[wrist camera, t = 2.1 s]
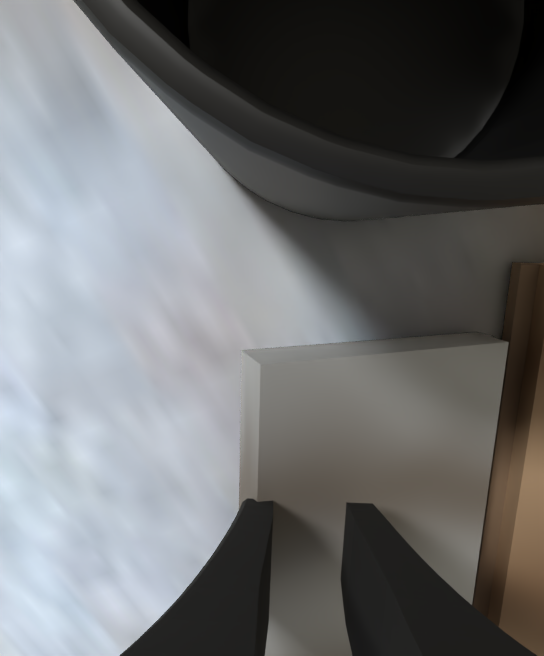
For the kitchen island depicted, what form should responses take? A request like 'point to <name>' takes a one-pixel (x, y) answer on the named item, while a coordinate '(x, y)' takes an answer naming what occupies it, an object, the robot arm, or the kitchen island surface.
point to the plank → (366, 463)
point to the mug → (351, 97)
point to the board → (517, 474)
